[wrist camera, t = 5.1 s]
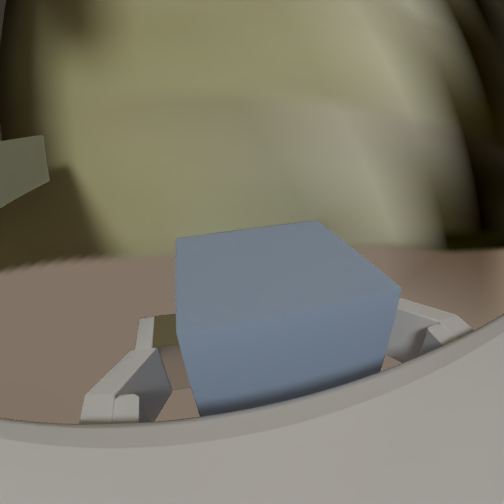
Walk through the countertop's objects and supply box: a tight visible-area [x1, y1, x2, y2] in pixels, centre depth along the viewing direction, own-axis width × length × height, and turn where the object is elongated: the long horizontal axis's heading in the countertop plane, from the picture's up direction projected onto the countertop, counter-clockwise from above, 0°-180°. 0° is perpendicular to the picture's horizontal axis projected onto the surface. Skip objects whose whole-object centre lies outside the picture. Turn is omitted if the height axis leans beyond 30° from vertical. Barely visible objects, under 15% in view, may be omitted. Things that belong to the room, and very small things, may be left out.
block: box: [175, 221, 401, 417], centre depth 9 cm, size 5×5×5 cm
